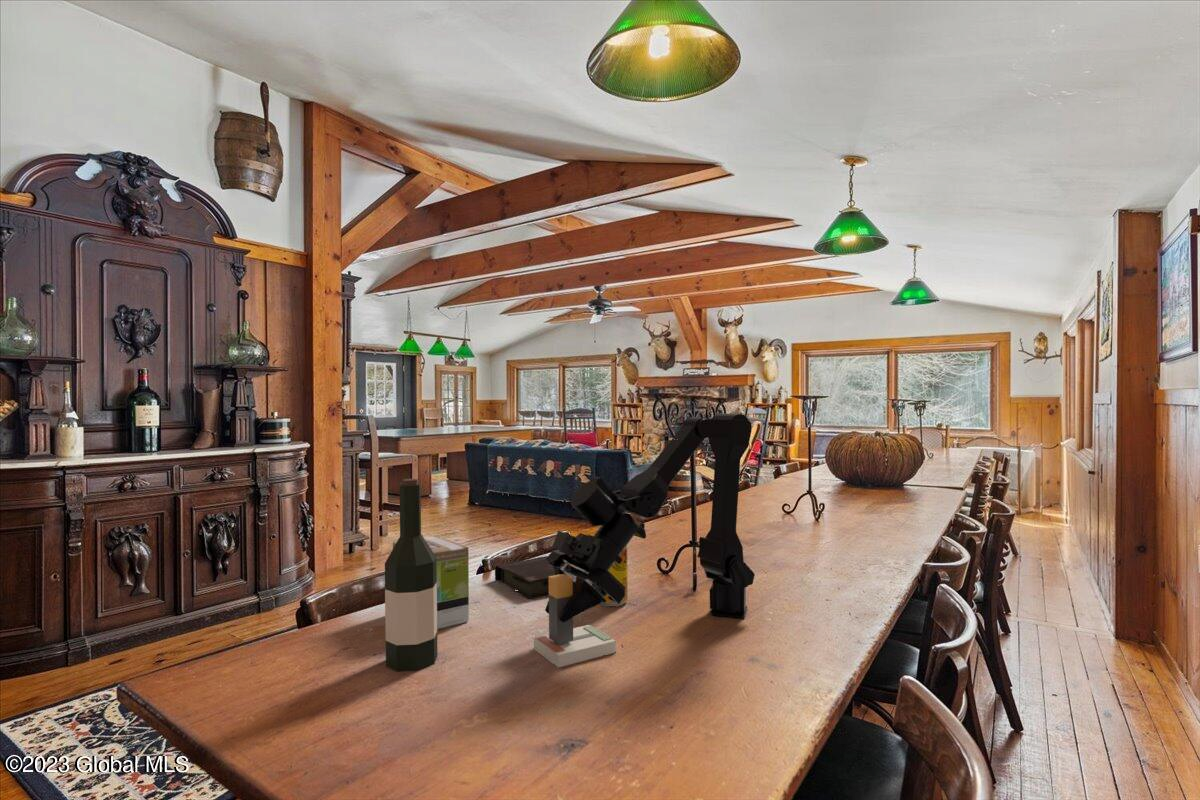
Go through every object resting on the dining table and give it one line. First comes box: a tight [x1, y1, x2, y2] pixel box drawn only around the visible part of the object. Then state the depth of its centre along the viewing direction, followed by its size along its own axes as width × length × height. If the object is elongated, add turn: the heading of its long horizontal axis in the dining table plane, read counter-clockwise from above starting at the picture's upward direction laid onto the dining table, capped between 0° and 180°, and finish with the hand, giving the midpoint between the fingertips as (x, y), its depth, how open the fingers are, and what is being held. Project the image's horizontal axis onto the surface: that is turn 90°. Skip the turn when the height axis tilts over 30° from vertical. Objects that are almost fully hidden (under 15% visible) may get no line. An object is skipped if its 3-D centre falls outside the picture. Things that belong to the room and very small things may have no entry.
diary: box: [494, 555, 576, 599], centre depth 151 cm, size 19×25×5 cm
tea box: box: [392, 535, 470, 630], centre depth 127 cm, size 15×10×15 cm, turn 39°
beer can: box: [601, 545, 629, 607], centre depth 135 cm, size 6×6×15 cm
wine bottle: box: [384, 478, 438, 672], centre depth 106 cm, size 8×8×30 cm
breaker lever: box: [548, 574, 574, 644], centre depth 108 cm, size 3×3×10 cm
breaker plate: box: [533, 624, 617, 668], centre depth 109 cm, size 11×9×2 cm
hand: (553, 616), depth 107 cm, fingers open, 5 cm apart
